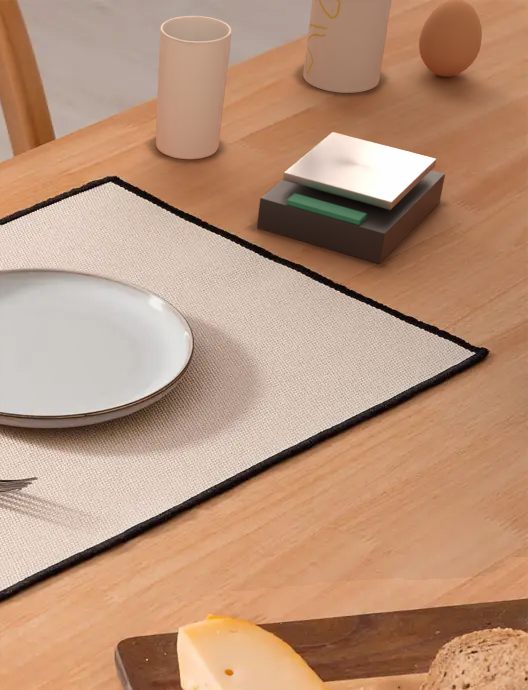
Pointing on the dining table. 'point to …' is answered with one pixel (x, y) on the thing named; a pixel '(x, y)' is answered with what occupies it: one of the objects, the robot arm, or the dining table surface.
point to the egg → (450, 38)
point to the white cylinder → (346, 44)
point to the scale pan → (360, 170)
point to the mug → (191, 85)
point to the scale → (347, 217)
